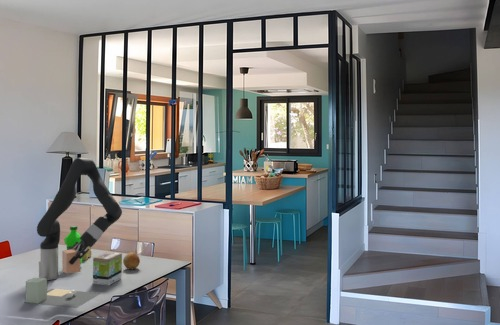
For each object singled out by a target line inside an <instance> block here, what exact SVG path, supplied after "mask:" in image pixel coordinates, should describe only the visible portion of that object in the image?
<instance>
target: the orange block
mask: <svg viewBox="0 0 500 325" xmlns="http://www.w3.org/2000/svg"><path fill="white" fill-rule="evenodd" d="M61 252H62V253H61V256H62V257H61V258H62V260H61V262H62V265H61V266H62V268H61V269H62V270H61V271H62V272H64V274H66V275H67V274H68V275H69V274H73V273H80V272H81V265H80V258H79V259H77V260H76V261H75V263H74V264H73V265H71V264H70V263H69V261H70V260H71V259H72V258H73V257H74V255H75V254H76V253H77V252H76V250H75V249H74V250H72V249H71V250H67V249H66V250H65V249H64V250H61ZM79 252H80V251H79Z"/></svg>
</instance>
